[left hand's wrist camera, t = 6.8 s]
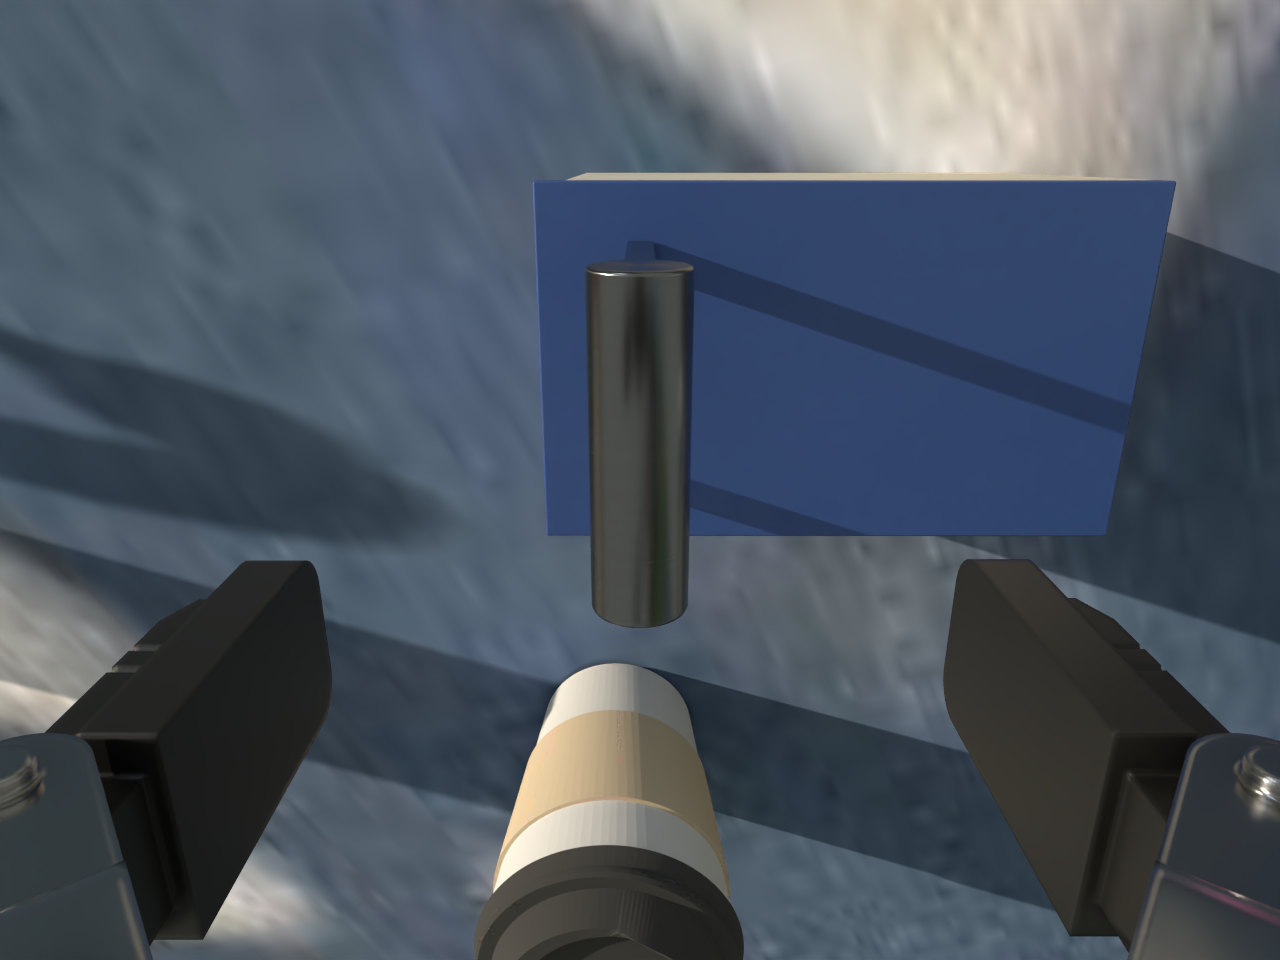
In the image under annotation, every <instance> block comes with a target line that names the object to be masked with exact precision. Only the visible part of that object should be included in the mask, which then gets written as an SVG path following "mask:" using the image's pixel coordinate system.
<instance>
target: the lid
mask: <svg viewBox="0 0 1280 960" xmlns="http://www.w3.org/2000/svg"><path fill="white" fill-rule="evenodd" d="M1175 186H1176V182H1175V181H1163V180H537V181H534V182H533V205H534V230H535V255H536V280H537V306H538V331H539V356H540V381H541V406H542V431H543V456H544V481H545V506H546V531H547V535H548V536H590V538H591V585H592V607H593V609H594V611H595V613H596V614H597V615H598V616H599V617H600V618H602V619H603V620H605V621H607V622H609V623H612V624H615V625H619V626H624V627H631V628H649V627H656V626H661V625H665V624H668V623H670V622H672V621H675V620H676V619H678V618H679V617H680V616H682V615H683V613H684V612H685V610H686V608H687V605H688V569H689V536H1105V535H1106V532H1107V527H1108V522H1109V517H1110V512H1111V507H1112V502H1113V497H1114V492H1115V487H1116V482H1117V477H1118V472H1119V467H1120V462H1121V457H1122V452H1123V447H1124V442H1125V437H1126V432H1127V427H1128V422H1129V417H1130V412H1131V407H1132V402H1133V397H1134V392H1135V387H1136V382H1137V377H1138V372H1139V367H1140V361H1141V356H1142V351H1143V346H1144V341H1145V336H1146V331H1147V326H1148V321H1149V316H1150V311H1151V306H1152V301H1153V296H1154V291H1155V286H1156V281H1157V276H1158V271H1159V266H1160V261H1161V256H1162V251H1163V246H1164V241H1165V236H1166V231H1167V226H1168V221H1169V216H1170V211H1171V206H1172V201H1173V196H1174V191H1175Z"/></svg>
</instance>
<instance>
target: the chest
mask: <svg viewBox="0 0 1280 960" xmlns="http://www.w3.org/2000/svg"><path fill="white" fill-rule="evenodd" d="M568 180H1142V179H1121V178H1100V177H1080V176H1059V175H1039V174H1018V173H586V174H583V175H580V176H577V177H574V178H571V179H568Z"/></svg>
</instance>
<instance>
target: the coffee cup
mask: <svg viewBox="0 0 1280 960" xmlns="http://www.w3.org/2000/svg"><path fill="white" fill-rule="evenodd" d="M493 890H494V892H493V894H492V896H491V897H490V898H489V900H488V901H487V903H486V905H485V906H484V908H483V910H482V912H481V915H480V917H479V920H478V923H477V927H476V931H475V939H474V952H475V960H743V953H744V943H743V934H742V930H741V926H740V923H739V920H738V917H737V915H736V913H735V911H734V909H733V907H732V905H731V904H730V902H729V897H730V882H729V876H728V871H727V867H726V862H725V858H724V854H723V849H722V845H721V841H720V836H719V832H718V828H717V823H716V819H715V815H714V810H713V806H712V802H711V797H710V793H709V789H708V784H707V780H706V776H705V771H704V768H703V765H702V762H701V760H700V758H699V756H698V753H697V748H696V743H695V739H694V734H693V729H692V725H691V720H690V716H689V712H688V709H687V706H686V704H685V702H684V700H683V698H682V697H681V695H680V694H679V692H678V691H677V690H676V689H675V688H674V687H673V686H672V685H671V684H670V683H669V682H668V681H667V680H665V679H664V678H662V677H661V676H659V675H658V674H656V673H654V672H652V671H650V670H647V669H645V668H642V667H638V666H634V665H629V664H619V663H612V664H602V665H597V666H593V667H590V668H587V669H584V670H582V671H580V672H578V673H576V674H574V675H573V676H571V677H570V678H568V679H567V680H566V681H565V682H563V683H562V684H561V685H560V687H559V688H558V689H557V690H556V691H555V693H554V694H553V696H552V698H551V700H550V702H549V704H548V707H547V711H546V714H545V718H544V721H543V724H542V728H541V731H540V735H539V738H538V742H537V745H536V747H535V748H534V750H533V752H532V754H531V756H530V758H529V761H528V764H527V767H526V770H525V774H524V777H523V780H522V784H521V787H520V790H519V794H518V797H517V800H516V804H515V807H514V810H513V814H512V817H511V820H510V824H509V827H508V830H507V833H506V837H505V840H504V843H503V847H502V850H501V853H500V857H499V860H498V863H497V867H496V870H495V875H494V885H493Z"/></svg>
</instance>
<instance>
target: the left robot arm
mask: <svg viewBox="0 0 1280 960" xmlns="http://www.w3.org/2000/svg"><path fill="white" fill-rule="evenodd" d="M1139 645H1140V644H1139V643H1138V642H1137V641H1136V640H1135V639H1134V638H1133V637H1132V636H1131V635H1130V634H1129V633H1128V632H1127V631H1126V630H1125V629H1124V628H1123V627H1121V626H1120V625H1119V624H1118V623H1117V622H1116V621H1115V620H1114V619H1113V618H1111V617H1109V616H1107V615H1105V614H1103V613H1102V612H1100V611H1098V610H1096V609H1094V608H1092V607H1091V606H1089V605H1087V604H1085V603H1083V602H1081V601H1080V600H1078V599H1076V598H1067V597H1066V596H1065V595H1064V594H1063V593H1062V592H1061V591H1060V590H1059V589H1058V587H1057V586H1056V585H1055V584H1054V583H1053V582H1052V581H1051V580H1050V579H1049V578H1048V577H1047V576H1046V575H1045V574H1044V573H1043V572H1042V571H1041V570H1040V569H1039V568H1038V567H1037V566H1036V565H1035V564H1034V563H1033V562H1032V561H1030V560H1028V559H967V560H965V561H964V562H963V563H962V565H961V566H960V569H959V571H958V575H957V579H956V585H955V593H954V600H953V607H952V614H951V622H950V629H949V636H948V643H947V651H946V658H945V665H944V678H943V681H944V695H945V701H946V706H947V710H948V713H949V716H950V719H951V721H952V723H953V725H954V727H955V728H956V730H957V732H958V734H959V736H960V738H961V739H962V741H963V743H964V745H965V747H966V748H967V750H968V752H969V754H970V756H971V758H972V759H973V761H974V763H975V765H976V767H977V768H978V770H979V772H980V774H981V776H982V778H983V779H984V781H985V783H986V785H987V787H988V788H989V790H990V792H991V794H992V796H993V798H994V799H995V801H996V803H997V805H998V807H999V808H1000V810H1001V812H1002V814H1003V816H1004V818H1005V819H1006V821H1007V823H1008V825H1009V827H1010V828H1011V830H1012V832H1013V834H1014V836H1015V837H1016V839H1017V841H1018V843H1019V845H1020V847H1021V848H1022V850H1023V852H1024V854H1025V856H1026V857H1027V859H1028V861H1029V863H1030V865H1031V867H1032V868H1033V870H1034V872H1035V874H1036V876H1037V877H1038V879H1039V881H1040V883H1041V885H1042V887H1043V888H1044V890H1045V892H1046V894H1047V896H1048V897H1049V899H1050V901H1051V903H1052V905H1053V907H1054V908H1055V910H1056V912H1057V914H1058V916H1059V917H1060V919H1061V921H1062V923H1063V925H1064V927H1065V928H1066V930H1067V932H1068V934H1069V936H1119V938H1120V940H1121V941H1122V943H1123V944H1124V946H1125V948H1126V949H1127V951H1128V953H1129V954H1128V958H1127V960H1280V741H1278V740H1274V739H1271V738H1266V737H1261V736H1256V735H1250V734H1241V733H1230V732H1229V731H1228V730H1227V729H1226V728H1225V727H1224V726H1223V725H1222V724H1221V723H1220V722H1219V721H1218V720H1216V719H1215V718H1214V717H1213V716H1212V715H1211V714H1210V713H1209V712H1208V711H1207V710H1206V709H1205V708H1204V707H1203V706H1202V705H1201V704H1200V703H1199V702H1198V701H1197V700H1196V699H1195V698H1194V697H1193V696H1192V695H1191V694H1190V693H1189V692H1188V691H1187V690H1186V689H1185V688H1184V687H1183V686H1182V685H1181V684H1180V683H1179V682H1178V681H1177V680H1176V679H1175V678H1174V677H1173V676H1172V675H1171V674H1169V673H1168V672H1167V671H1162V670H1161V665H1160V664H1159V663H1158V662H1157V661H1156V660H1155V659H1154V658H1153V657H1152V656H1151V655H1150V654H1149V653H1148V652H1147V651H1146V650H1145V649H1140V647H1139ZM331 690H332V673H331V664H330V657H329V650H328V643H327V636H326V629H325V621H324V614H323V607H322V600H321V593H320V586H319V580H318V576H317V572H316V570H315V567H314V566H313V564H312V563H311V562H309V561H245V562H243V563H242V564H241V565H240V566H239V567H238V568H237V569H236V570H235V571H234V572H233V573H232V574H231V575H230V576H229V577H228V578H227V579H226V580H225V581H224V582H223V583H222V584H221V585H220V586H219V587H218V588H217V589H216V590H215V591H214V592H213V593H212V594H211V595H210V596H209V597H208V598H207V599H206V600H197V601H196V602H194V603H192V604H190V605H188V606H186V607H185V608H183V609H181V610H179V611H177V612H175V613H174V614H172V615H170V616H168V617H166V618H164V619H163V620H161V621H159V622H158V623H157V624H156V625H155V626H154V627H153V628H152V629H151V630H150V631H149V632H148V633H147V634H146V635H145V636H144V637H143V638H142V639H141V640H140V641H139V642H138V643H137V644H136V645H135V646H134V651H128V652H127V653H126V654H125V655H124V656H123V657H122V658H121V659H120V660H119V661H118V662H117V663H116V664H115V665H114V666H113V667H112V673H106V674H105V675H104V676H103V677H102V678H101V679H100V680H98V681H97V682H96V683H95V684H94V685H93V686H92V687H91V688H90V689H89V690H88V691H87V692H86V693H85V694H84V695H83V696H82V697H81V698H80V699H79V700H78V701H77V702H76V703H75V704H74V705H73V706H72V707H71V708H70V709H69V710H68V711H67V712H65V713H64V714H63V715H62V716H61V717H60V718H59V719H58V720H57V721H56V722H55V723H54V724H53V725H52V726H51V727H50V728H49V729H48V730H47V731H46V732H45V733H39V734H30V735H24V736H19V737H14V738H9V739H6V740H2V741H0V960H153V958H152V954H151V951H150V945H151V943H152V942H153V940H203V939H204V937H205V935H206V933H207V932H208V930H209V928H210V926H211V924H212V923H213V921H214V919H215V917H216V915H217V914H218V912H219V910H220V908H221V906H222V905H223V903H224V901H225V899H226V897H227V896H228V894H229V892H230V890H231V888H232V887H233V885H234V883H235V881H236V879H237V878H238V876H239V874H240V872H241V870H242V869H243V867H244V865H245V863H246V862H247V860H248V858H249V856H250V854H251V853H252V851H253V849H254V847H255V845H256V844H257V842H258V840H259V838H260V836H261V835H262V833H263V831H264V829H265V827H266V826H267V824H268V822H269V820H270V818H271V817H272V815H273V813H274V811H275V809H276V808H277V806H278V804H279V802H280V800H281V799H282V797H283V795H284V793H285V792H286V790H287V788H288V786H289V784H290V783H291V781H292V779H293V777H294V775H295V774H296V772H297V770H298V768H299V766H300V765H301V763H302V761H303V759H304V757H305V756H306V754H307V752H308V750H309V748H310V747H311V745H312V743H313V741H314V739H315V738H316V736H317V734H318V732H319V730H320V729H321V727H322V725H323V723H324V721H325V719H326V716H327V713H328V709H329V704H330V699H331Z"/></svg>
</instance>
